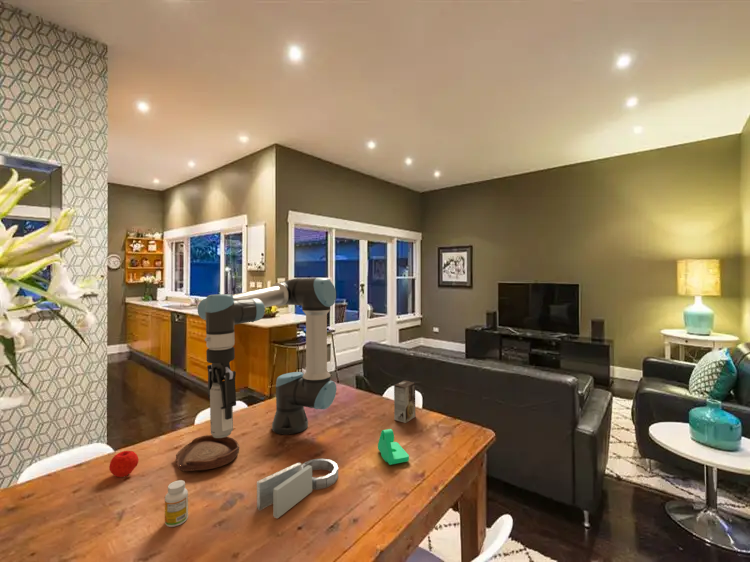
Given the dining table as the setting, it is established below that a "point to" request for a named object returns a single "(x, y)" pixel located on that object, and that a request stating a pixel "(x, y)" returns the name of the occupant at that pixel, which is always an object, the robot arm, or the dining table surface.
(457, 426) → the dining table surface
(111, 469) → the apple
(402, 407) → the coffee box
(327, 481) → the hinge fixed
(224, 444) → the basket
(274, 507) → the hinge leaf
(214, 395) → the energy drink can
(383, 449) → the camera mount
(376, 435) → the dining table surface
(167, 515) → the supplement bottle
